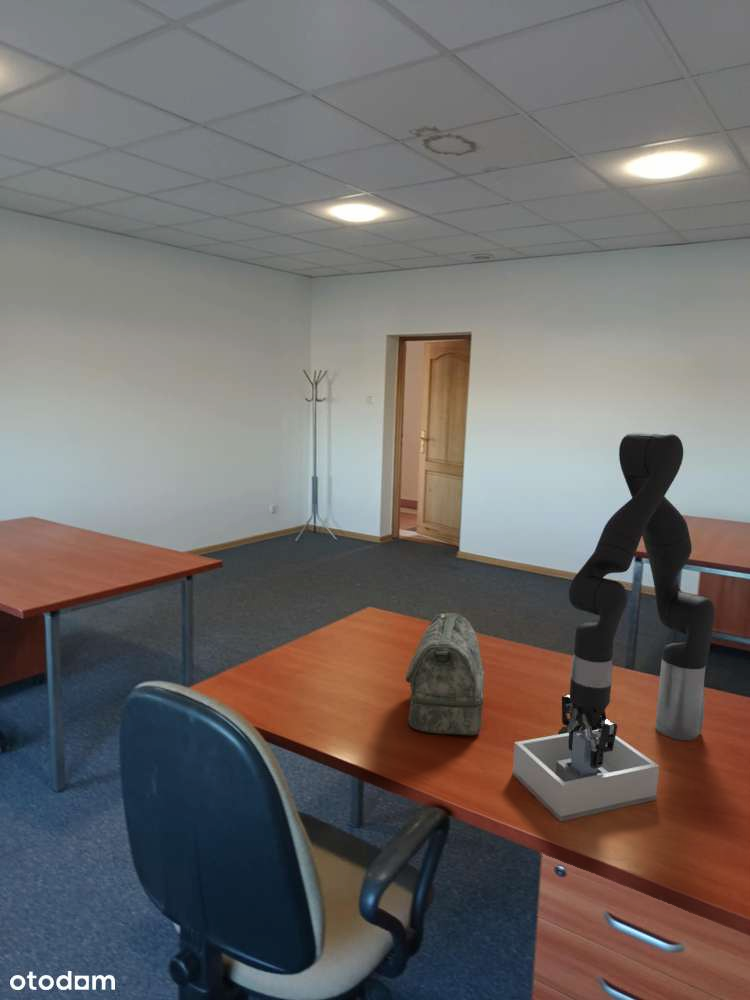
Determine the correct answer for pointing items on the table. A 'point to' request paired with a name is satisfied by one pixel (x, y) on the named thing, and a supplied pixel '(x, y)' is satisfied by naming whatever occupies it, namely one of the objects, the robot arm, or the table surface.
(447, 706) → the lunch bag
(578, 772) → the plug
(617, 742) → the walled box
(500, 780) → the table surface
